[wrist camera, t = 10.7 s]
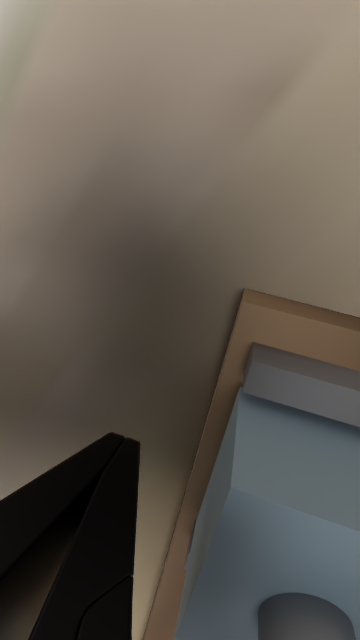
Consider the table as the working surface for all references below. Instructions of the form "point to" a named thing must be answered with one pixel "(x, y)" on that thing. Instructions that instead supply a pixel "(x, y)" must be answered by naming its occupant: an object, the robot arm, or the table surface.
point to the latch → (277, 531)
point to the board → (269, 383)
